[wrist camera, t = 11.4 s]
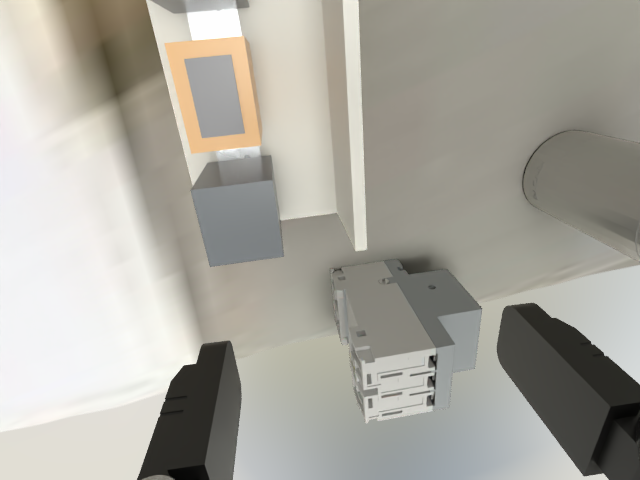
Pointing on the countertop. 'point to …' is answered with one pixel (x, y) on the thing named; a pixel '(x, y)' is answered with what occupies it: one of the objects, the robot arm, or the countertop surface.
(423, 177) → the countertop surface
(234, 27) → the rail
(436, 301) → the circuit breaker
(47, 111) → the countertop surface
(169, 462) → the robot arm
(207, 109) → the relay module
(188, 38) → the panel
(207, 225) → the block
